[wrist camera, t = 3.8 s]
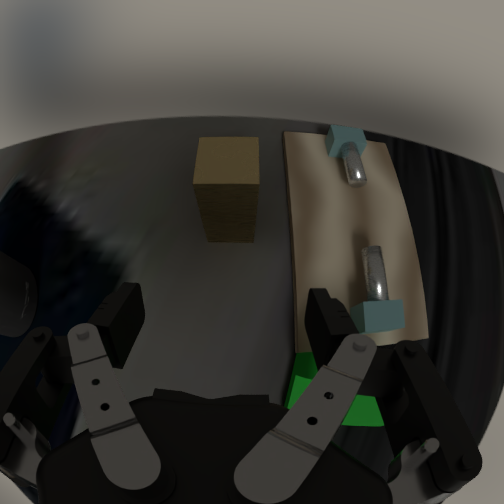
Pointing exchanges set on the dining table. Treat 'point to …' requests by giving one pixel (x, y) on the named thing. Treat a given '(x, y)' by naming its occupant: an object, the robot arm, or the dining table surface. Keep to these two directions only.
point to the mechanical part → (304, 372)
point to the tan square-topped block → (227, 187)
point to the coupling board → (352, 235)
